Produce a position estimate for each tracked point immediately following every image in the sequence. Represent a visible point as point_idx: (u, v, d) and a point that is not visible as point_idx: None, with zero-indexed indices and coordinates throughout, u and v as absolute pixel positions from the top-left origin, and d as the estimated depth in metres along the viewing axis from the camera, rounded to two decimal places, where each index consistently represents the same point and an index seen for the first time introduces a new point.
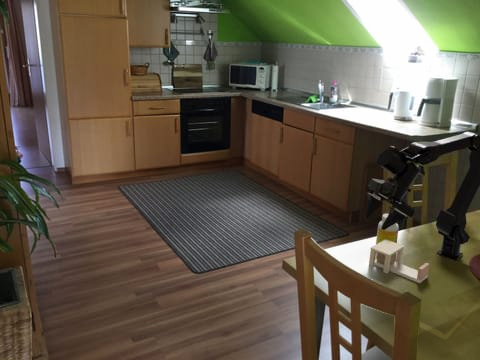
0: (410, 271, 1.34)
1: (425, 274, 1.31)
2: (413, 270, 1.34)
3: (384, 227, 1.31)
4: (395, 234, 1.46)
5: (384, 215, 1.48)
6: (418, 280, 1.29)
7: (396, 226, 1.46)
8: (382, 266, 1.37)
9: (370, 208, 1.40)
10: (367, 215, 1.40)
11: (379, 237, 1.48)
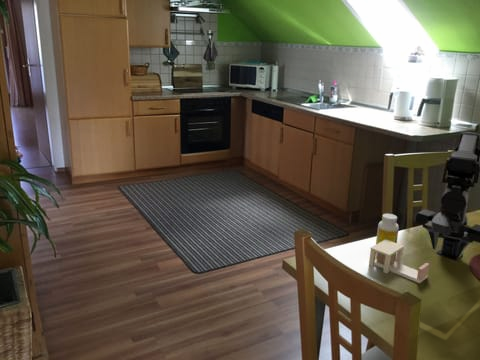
0: (410, 271, 1.34)
1: (425, 274, 1.31)
2: (413, 270, 1.34)
3: (460, 255, 1.21)
4: (395, 234, 1.46)
5: (384, 215, 1.48)
6: (418, 280, 1.29)
7: (396, 226, 1.46)
8: (382, 266, 1.37)
9: (435, 238, 1.25)
10: (435, 246, 1.26)
11: (379, 237, 1.48)
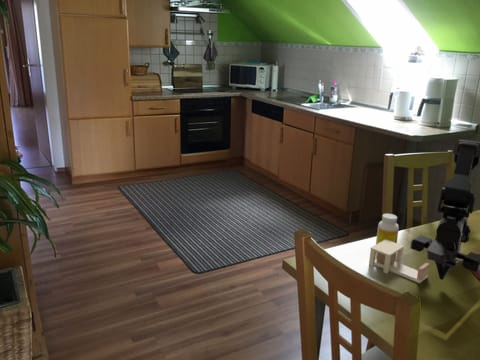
0: (410, 271, 1.34)
1: (425, 274, 1.31)
2: (413, 270, 1.34)
3: (444, 277, 1.26)
4: (395, 234, 1.46)
5: (384, 215, 1.48)
6: (418, 280, 1.29)
7: (396, 226, 1.46)
8: (382, 266, 1.37)
9: (441, 268, 1.26)
10: None
11: (379, 237, 1.48)
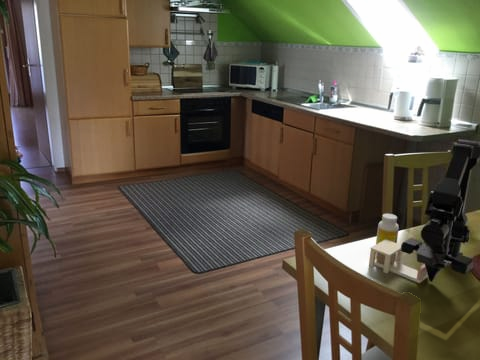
0: (410, 271, 1.34)
1: (425, 274, 1.31)
2: (413, 270, 1.34)
3: (433, 279, 1.28)
4: (395, 234, 1.46)
5: (384, 215, 1.48)
6: (418, 280, 1.29)
7: (396, 226, 1.46)
8: (382, 266, 1.37)
9: (431, 270, 1.28)
10: None
11: (379, 237, 1.48)
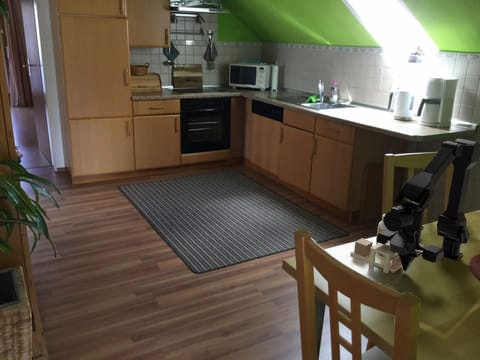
0: None
1: (399, 264, 1.36)
2: None
3: (407, 268, 1.34)
4: None
5: (384, 215, 1.48)
6: (392, 269, 1.35)
7: None
8: (359, 257, 1.43)
9: (404, 260, 1.34)
10: None
11: None
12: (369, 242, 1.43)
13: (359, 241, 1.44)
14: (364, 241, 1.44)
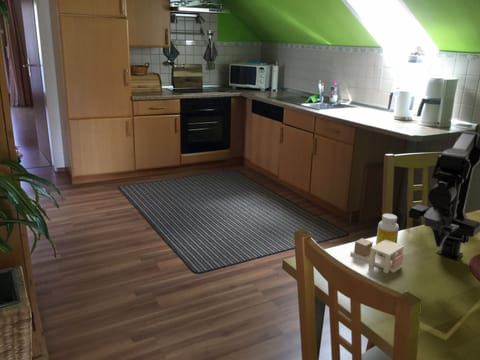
0: None
1: (399, 264, 1.36)
2: None
3: (441, 244, 1.28)
4: (395, 234, 1.46)
5: (384, 215, 1.48)
6: (392, 269, 1.35)
7: (396, 226, 1.46)
8: (359, 257, 1.43)
9: (438, 235, 1.28)
10: None
11: (379, 237, 1.48)
12: (369, 242, 1.43)
13: (359, 241, 1.44)
14: (364, 241, 1.44)
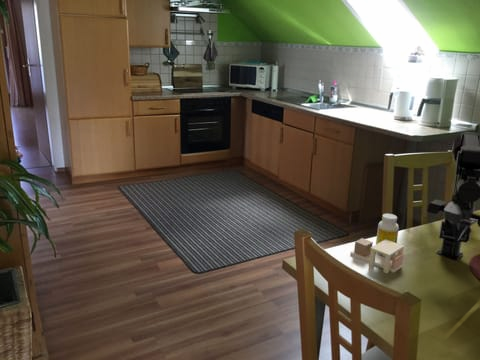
0: None
1: (399, 264, 1.36)
2: None
3: (459, 238, 1.31)
4: (395, 234, 1.46)
5: (384, 215, 1.48)
6: (392, 269, 1.35)
7: (396, 226, 1.46)
8: (359, 257, 1.43)
9: (456, 229, 1.31)
10: None
11: (379, 237, 1.48)
12: (369, 242, 1.43)
13: (359, 241, 1.44)
14: (364, 241, 1.44)
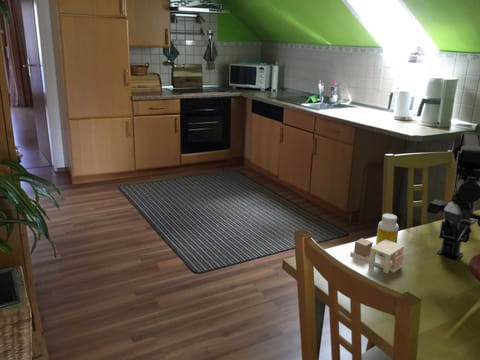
0: None
1: (399, 264, 1.36)
2: None
3: (459, 238, 1.31)
4: (395, 234, 1.46)
5: (384, 215, 1.48)
6: (392, 269, 1.35)
7: (396, 226, 1.46)
8: (359, 257, 1.43)
9: (456, 229, 1.31)
10: None
11: (379, 237, 1.48)
12: (369, 242, 1.43)
13: (359, 241, 1.44)
14: (364, 241, 1.44)
